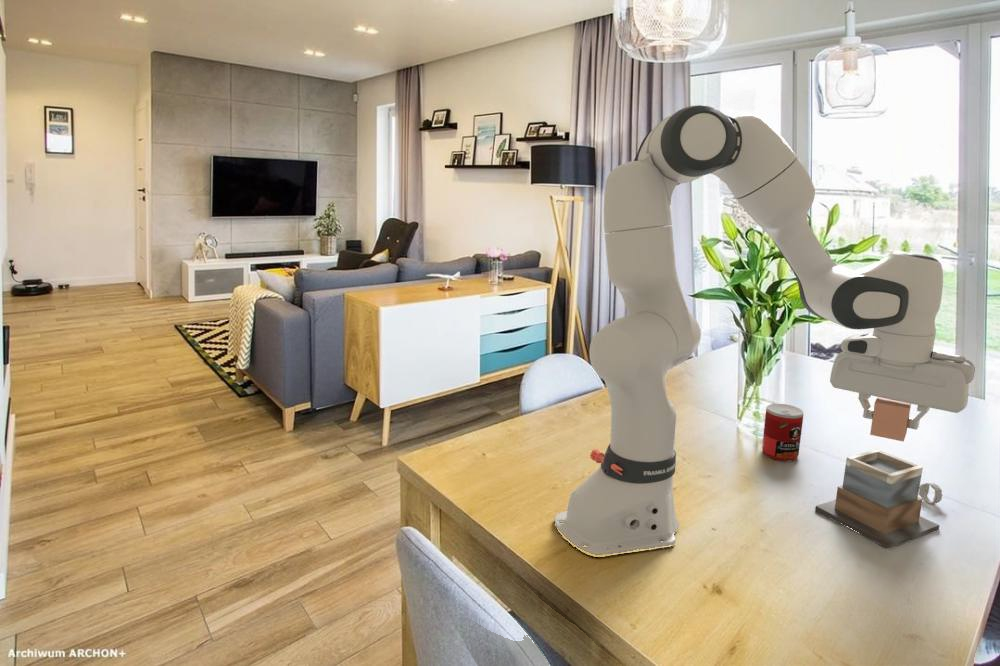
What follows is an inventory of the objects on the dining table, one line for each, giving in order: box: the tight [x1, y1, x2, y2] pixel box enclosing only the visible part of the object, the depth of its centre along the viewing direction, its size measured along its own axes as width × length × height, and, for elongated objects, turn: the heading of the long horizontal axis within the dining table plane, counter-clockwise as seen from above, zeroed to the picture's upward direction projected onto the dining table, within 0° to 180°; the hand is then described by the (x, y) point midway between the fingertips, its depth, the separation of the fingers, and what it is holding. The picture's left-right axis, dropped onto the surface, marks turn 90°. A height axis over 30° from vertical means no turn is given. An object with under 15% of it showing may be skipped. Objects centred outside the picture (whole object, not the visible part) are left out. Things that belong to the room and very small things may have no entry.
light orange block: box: [869, 397, 912, 442], centre depth 106 cm, size 5×5×6 cm
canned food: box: [761, 403, 804, 462], centre depth 138 cm, size 8×8×11 cm
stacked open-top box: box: [814, 448, 940, 550], centre depth 110 cm, size 14×14×12 cm
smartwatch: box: [918, 482, 943, 505], centre depth 117 cm, size 4×2×4 cm, turn 14°
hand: (889, 422), depth 107 cm, fingers closed on light orange block, 5 cm apart
